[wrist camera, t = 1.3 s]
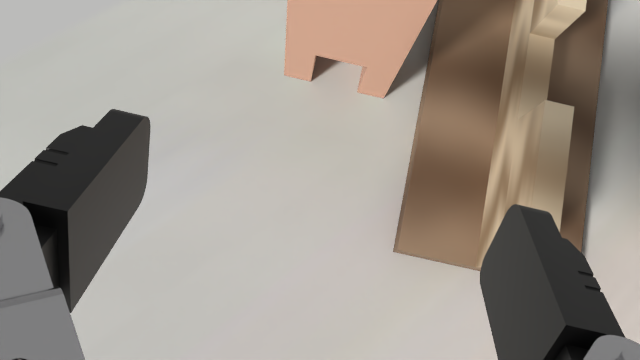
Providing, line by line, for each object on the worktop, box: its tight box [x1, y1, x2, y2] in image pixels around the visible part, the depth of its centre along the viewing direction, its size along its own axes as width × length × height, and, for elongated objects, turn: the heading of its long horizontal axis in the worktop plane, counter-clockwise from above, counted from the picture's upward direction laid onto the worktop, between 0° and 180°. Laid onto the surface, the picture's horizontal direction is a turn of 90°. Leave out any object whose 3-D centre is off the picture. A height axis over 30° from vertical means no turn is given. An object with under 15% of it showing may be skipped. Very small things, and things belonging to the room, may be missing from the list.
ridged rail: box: [393, 0, 608, 271], centre depth 30 cm, size 20×10×7 cm, turn 168°
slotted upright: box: [284, 0, 437, 98], centre depth 27 cm, size 3×6×12 cm, turn 78°
